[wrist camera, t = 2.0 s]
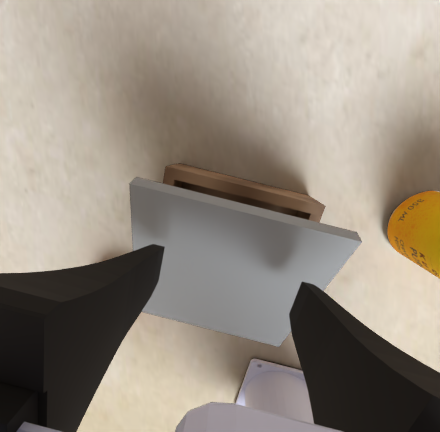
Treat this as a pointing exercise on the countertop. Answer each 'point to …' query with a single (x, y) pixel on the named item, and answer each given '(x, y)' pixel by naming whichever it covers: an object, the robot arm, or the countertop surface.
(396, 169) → the countertop surface
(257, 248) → the lid
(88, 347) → the robot arm
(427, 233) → the beer can
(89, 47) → the countertop surface
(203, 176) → the box
